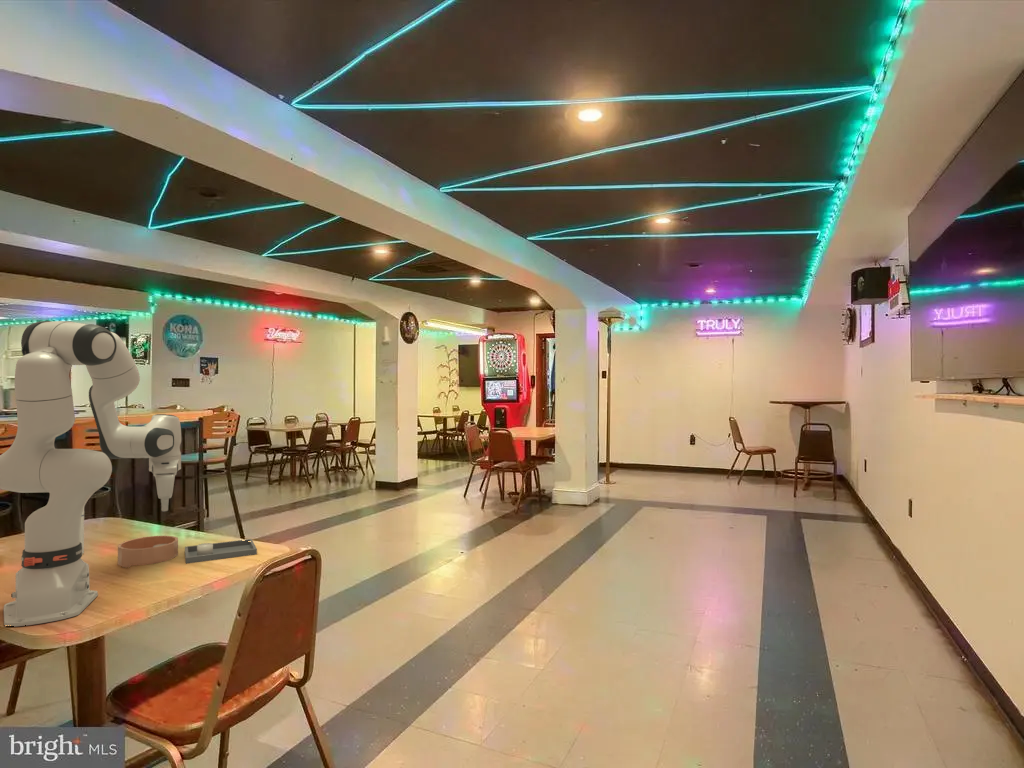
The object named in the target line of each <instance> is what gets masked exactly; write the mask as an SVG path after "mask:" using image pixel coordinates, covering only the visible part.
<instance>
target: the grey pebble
mask: <svg viewBox="0 0 1024 768" xmlns="http://www.w3.org/2000/svg"><path fill="white" fill-rule="evenodd" d="M208 554H213V544H212V543H211V542H206V543H205V542H204V543H201V544H200V543H199V544H198V545H197V556H200V555H208Z"/></svg>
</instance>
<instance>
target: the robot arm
mask: <svg viewBox="0 0 1024 768" xmlns="http://www.w3.org/2000/svg"><path fill="white" fill-rule="evenodd" d="M20 342H21V344H20V345H21V354H22V356H21V357H20V358H18V360H17V361H16V364H15V370H14V397H15V399H14V400H15V403H16V404H15V405H16V414H17V431H16V436H15V437H14V440H13V442H12V443H11V445H10V447H9V448H8V449H7V450H6V451H5V452H3V453H2V454H0V490H3V491H7V492H14V493H22V494H24V493H25V494H29V493H30V494H33V493H36V494H37V493H49V498H48V501H47V504H46V505H45V506H43V507H40V508H38V509H36V510H35V511H32V513H31V514H29V516H27V518H26V520H25V521H24V549H23V550H22V552H21V554H22V555H21V559H20V560H21V567H22V568H20V569H19V570H18V571H16V573H15V591H12V592H11V594H10V597H11V598H12V599H15V600H13V601H10V602H8V603H7V602H6V603H5V604H4V605H3V626H4V625H7V626H8V625H9V626H10V625H11V626H14V627H24V626H25V625H26V626H32V625H39V624H45V623H51V622H56V621H57V622H58V621H61V620H65V619H69V618H73V617H75V616H76V617H77V616H79V615H80V614H81V613H82V612H83V611H84V610H85V609H86V608H87V607H88V606H89V605H90V604H91V603H92V602H93V601H94V600H95V599H96V598H97V597H98V596H99V593H98V590H95V589H94V590H92V589H90V586H91V585H90V565H89V564H88V563H87V562H86V561H84V560H83V559H82V556H83V554H82V543H81V542H80V525H81V516H82V512H83V509H84V510H85V507H86V504H87V502H88V500H89V499H90V498H91V497H92V496H93V495H94V494H95V493H96V492H97V491H98V490H100V489H102V488H103V487H104V486H105V485H106V484H107V483H108V481H109V480H110V478H111V475H112V472H113V465H112V462H111V460H118V459H121V460H122V459H148V471H149V472H151V473H152V474H153V477H154V479H155V485H156V493H157V498H158V499H160V503H161V505H160V506H161V512H168V511H169V500H170V499H171V498H172V496H173V493H174V487H175V485H174V484H175V479H176V476H177V474H178V473H177V472H178V471H180V470H181V469H182V452H181V443H182V428H181V422H180V421H181V420H180V418H179V417H178V416H176V415H173V414H165V413H157V414H153V415H151V419H150V421H149V422H148V423H147V424H144V425H143V426H128V425H124V424H122V423H121V422H120V420H119V416H118V412H117V409H116V405H115V402H117V401H120V400H123V399H124V398H127V397H128V396H129V395H130V394H132V393H133V392H134V391H135V390H136V389H137V388H138V386H139V385H140V384H139V383H140V380H141V379H140V378H141V376H140V373H139V369H138V367H137V364H136V362H135V361H134V358H133V356H132V354H131V353H130V351H129V349H128V347H127V346H126V344H125V343H124V341H123V340H122V339H121V337H120V336H119V335H118V334H117V333H115V332H114V331H110V330H109V329H107V328H105V327H104V326H101V325H98V324H93V323H89V324H87V323H83V322H75V321H69V320H68V321H67V320H56V321H55V320H54V321H53V320H42V321H41V320H40V321H36V322H34V323H30V324H29V325H28V326H27V327H26V328H24V331H23V333H22V336H21V341H20ZM73 366H85V367H86V370H87V372H88V374H89V376H90V379H91V381H92V385H91V386H90V388H89V390H88V401H89V404H90V407H91V412H92V415H93V419H94V421H95V425H96V428H97V432H98V437H99V438H98V439H99V440H98V441H99V446H100V447H99V448H100V449H101V451H99V450H94V449H87V448H56V447H55V440H56V438H57V437H60V436H62V435H63V434H65V433H66V432H68V431H70V430H71V429H72V428H73V426H74V425H75V422H76V415H75V407H74V398H73V390H72V385H71V379H70V371H71V370H72V367H73Z"/></svg>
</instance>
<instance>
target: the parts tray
mask: <svg viewBox="0 0 1024 768" xmlns="http://www.w3.org/2000/svg"><path fill="white" fill-rule="evenodd" d="M242 540H243V539H239V540H231V541H223V542H222V541H221V542H213V543H212V544H213V554H208V555H200V556H197V545H189V546H184V557H185V565H186V564H194V563H201V562H208V561H209V562H210V561H218V560H224V559H232V558H238V557H247V556H253V555H254V556H255V555H258V554H257V553H258V548H257V546H256V545H255V543H254V540H253V539H252V538H247V539H244V540H245V541H242ZM248 541H251V542H248Z"/></svg>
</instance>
